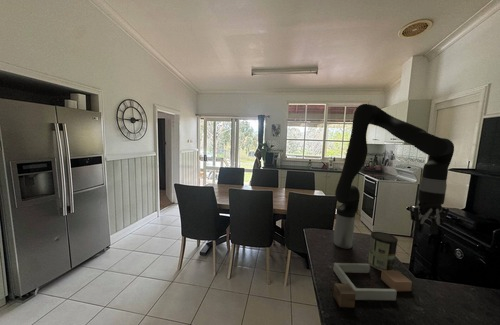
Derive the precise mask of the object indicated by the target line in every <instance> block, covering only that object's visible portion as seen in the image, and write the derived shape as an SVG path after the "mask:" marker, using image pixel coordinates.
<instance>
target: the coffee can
mask: <svg viewBox="0 0 500 325" xmlns="http://www.w3.org/2000/svg"><path fill="white" fill-rule="evenodd" d="M397 245H398V238H397V237H396V236H394V235H392V234H390V233H388V232H383V231H372V232H371V233H370V243H369V250H368V251H369V252H368V258H367V259H368V261H367V264H369V265H370V267H372V268H374V269H376V270H378V271H381V272H382V270H395V262H396V255H397V254H396V253H397Z"/></svg>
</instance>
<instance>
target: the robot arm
mask: <svg viewBox="0 0 500 325" xmlns="http://www.w3.org/2000/svg"><path fill="white" fill-rule="evenodd" d="M369 125H373V126H376V127H379V128H382V129H383V130H385V131H387V132H388V133H389V134H391V135H392V136H394V137H396V139H399V140H400V141H403V142H405V143H407V144H409V145H410V146H413V147H414V148H416V149H417V150H419V151H420V152H422V153H424V154H426V155H427V156H428V159H427V162H426V163H424V165H423V168H422V175H421V179H420V183H419V188H418V195H417V200H418V204H417V205H415V206H414V205H410V206H409V208H410V209H409V212H410V220H411V221H413V222H415V227H414V230H415V232H417V233H419V234H422V233H423V230H424V222H425V221H426V220H427V219H428V218H430V221H431V222H430V225H429V232H430V233H432V234H437V232H438V231H439V230H438V228H439V225H440V224H444V223H445V222H446V219H447V217H448V214H449V212H450V209H449V208H448V207H444V206H442V205H444V204H445V199H446V194H447V193H446V192H447V181H448V180H447V179H448V175H449V174H448V173H449V166H450V164H451V162H452V159H453V156H454V152H455V145H454V142H453V141H451V139H448V138H443V137H439V136H437V135H434V134H431V133H429V132H427V131H426V130H425V129H423V128H421V127H419V126H416V125H414V124H412V123H409V122H407V121H404V120H402V119H399V118H396V117H394V116H393V115H391V114H389V113H387V112H386V111H384V110H383V109H382V108H380V107H378V105H375V104H369V103H362V104H359V105H358V106H357V107H356V108H355V111H354V113H353V120H352V126H351V132H350V133H351V134H350V137H349V142H348V147H347V150H346V153H345V154H346V155H345V158H344V163H343V167H342V170H341V174H340V177H339V180H338V183H337V185H336V188H335V199H336V201H337V202H338V203H340V204H341V205H340V206H338V207H337V208H336V213H335V214H336V216H335V224H334V229H333V230H334V231H333V244H334V245H335V246H336V247H338V248H341V249H345V250H347V249H351V248H352V247H353V240H354V239H353V238H354V230H355V220H356V214H357V212H358V211H359V205H360V204H359V203H360V198H361V196H360V190H359V188H358V187H357V186H355V185H352V184H353V181H354V179H355V178H356V176H357V175H358V174H359V172H360V171H361V170H362V169H363V168H364V166H365V163H366V161H367V160H366V159H367V157H368V149H369V148H368V142H367V131H368V128H369Z"/></svg>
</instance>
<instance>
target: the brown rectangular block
mask: <svg viewBox="0 0 500 325" xmlns="http://www.w3.org/2000/svg"><path fill="white" fill-rule="evenodd" d="M380 280H381V281H382V282H384V283H385V284H386V285H387V287H389V289H395V290H396V291H397V292H411V291H412V285H413V282H412V280H410V279H409V278H407V277H406V276H405V275H404V274H403V273H402V272H400V271H399V270H398V269H397V270H395V269H394V270H382V271H381V275H380Z"/></svg>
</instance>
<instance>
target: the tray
mask: <svg viewBox="0 0 500 325" xmlns="http://www.w3.org/2000/svg"><path fill="white" fill-rule="evenodd" d="M370 267H371V265H370V264H369V263H360V262H359V263H355V262H354V263H353V262H351V263H350V262H334V263H333V270H332V271H333V272H334V273H335V275H336V276H337V278H338V279H339V280H340V282H341V284H349V286H350V287H351V288H352V290H353V291H354V292H355V294H356V296H355V301H396V300H397V294H398V293H397V292H398V291H396V290H395V289H391V288H365V287H364V288H363V287H362V288H361V287H356V285H355V284H354V283H353V282H352V281H351V279H350V278H349V277H348V275H347V274H346V273H353V274H355V273H356V274H358V273H359V274H361V273H362V274H369V273H370V269H371V268H370Z"/></svg>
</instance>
